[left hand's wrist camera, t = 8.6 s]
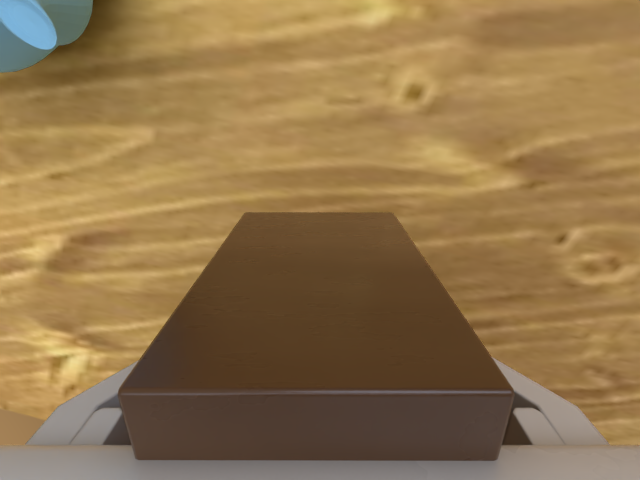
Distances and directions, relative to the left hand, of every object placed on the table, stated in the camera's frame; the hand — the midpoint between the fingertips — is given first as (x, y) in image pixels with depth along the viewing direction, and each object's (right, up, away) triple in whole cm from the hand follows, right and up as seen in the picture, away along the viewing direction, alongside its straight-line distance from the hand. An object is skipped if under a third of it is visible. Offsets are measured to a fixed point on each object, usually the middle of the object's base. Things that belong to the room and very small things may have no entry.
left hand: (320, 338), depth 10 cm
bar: (0, -8, +7) cm, 10 cm away
